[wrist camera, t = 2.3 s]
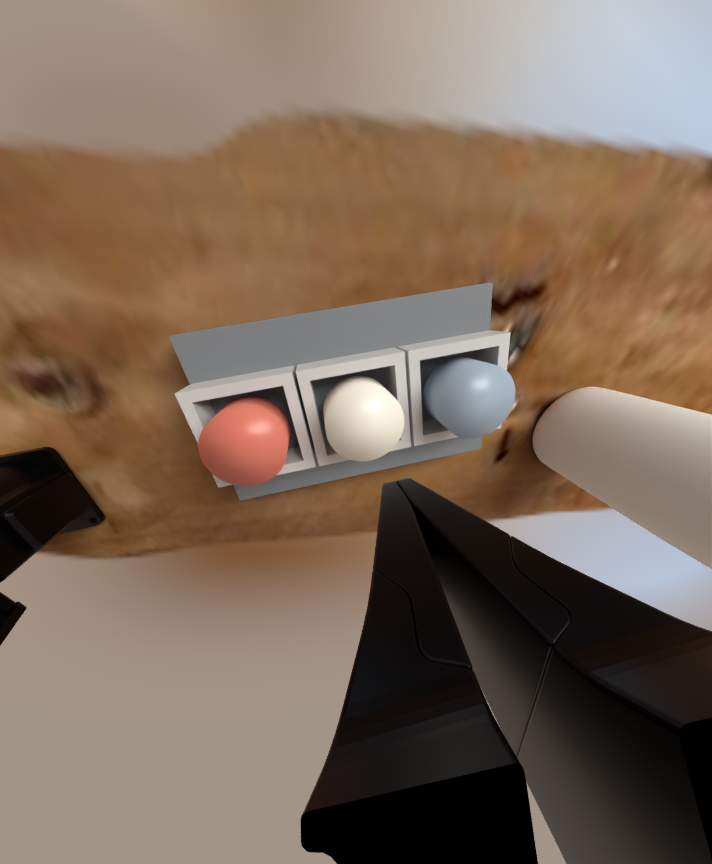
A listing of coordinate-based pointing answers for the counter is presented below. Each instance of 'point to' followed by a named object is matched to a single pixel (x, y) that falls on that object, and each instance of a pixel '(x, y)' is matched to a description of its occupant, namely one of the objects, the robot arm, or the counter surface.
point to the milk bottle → (636, 461)
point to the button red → (245, 441)
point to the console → (340, 374)
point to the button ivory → (362, 419)
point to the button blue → (469, 396)
